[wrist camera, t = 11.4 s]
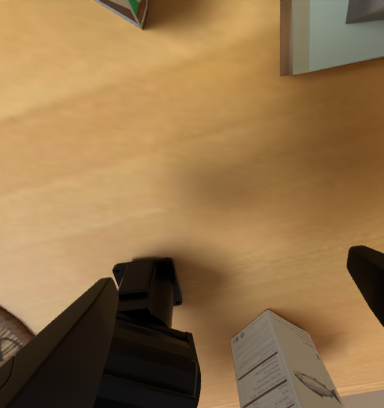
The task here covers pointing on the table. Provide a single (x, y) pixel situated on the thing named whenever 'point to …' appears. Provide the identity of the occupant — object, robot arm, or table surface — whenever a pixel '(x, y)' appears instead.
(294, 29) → the sage slab
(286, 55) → the walnut slab
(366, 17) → the grey cube
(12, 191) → the table surface
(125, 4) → the food container
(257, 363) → the supplement box
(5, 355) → the trivet
